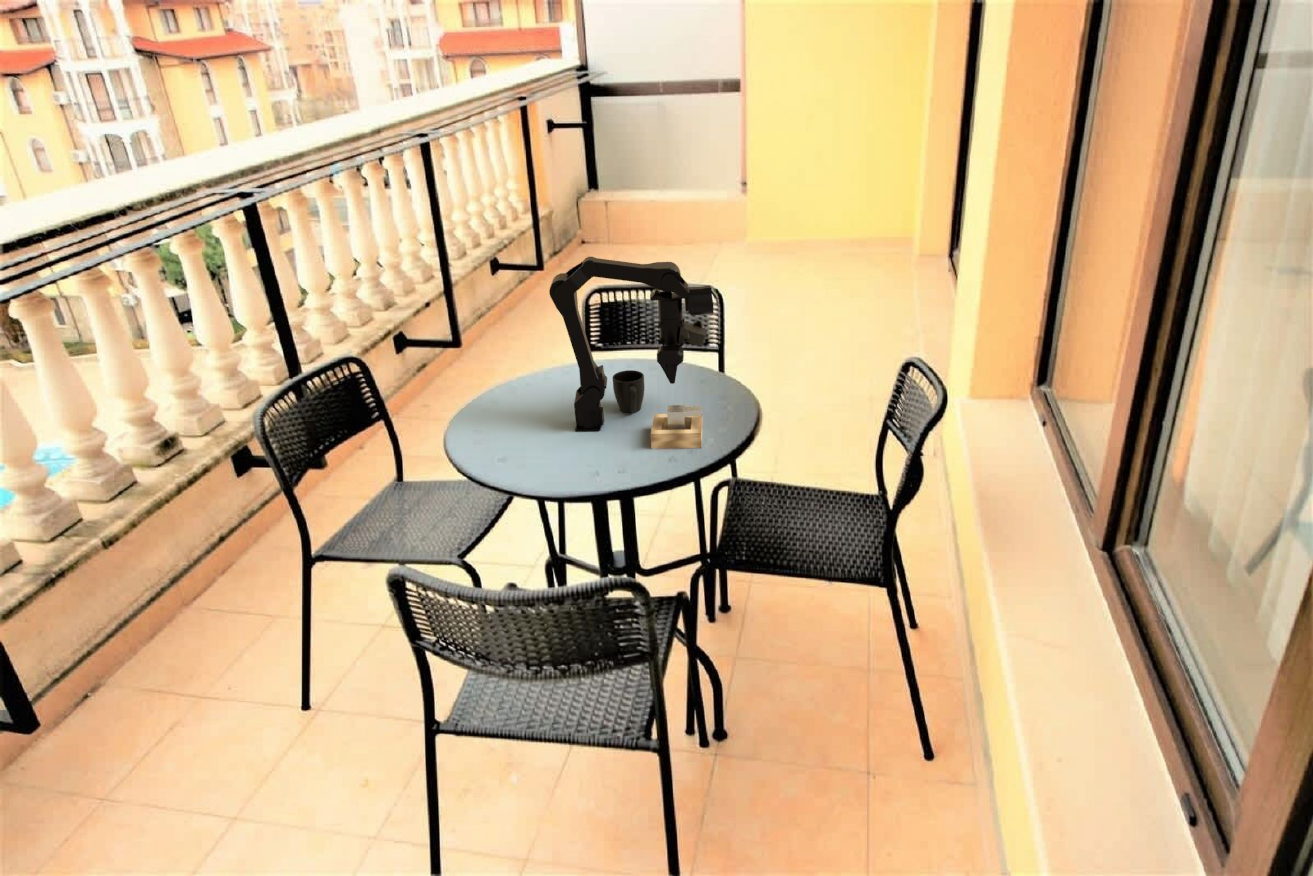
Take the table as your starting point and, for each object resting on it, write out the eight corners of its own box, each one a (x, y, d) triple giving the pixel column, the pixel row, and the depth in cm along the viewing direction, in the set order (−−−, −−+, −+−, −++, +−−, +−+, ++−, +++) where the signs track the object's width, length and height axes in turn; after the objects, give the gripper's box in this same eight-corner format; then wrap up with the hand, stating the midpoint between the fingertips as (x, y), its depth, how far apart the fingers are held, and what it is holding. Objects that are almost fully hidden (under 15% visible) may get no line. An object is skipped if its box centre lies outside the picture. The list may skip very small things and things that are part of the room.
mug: (618, 423, 215) (615, 389, 211) (613, 404, 226) (610, 371, 222) (650, 419, 216) (648, 385, 212) (643, 401, 227) (641, 368, 223)
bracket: (668, 442, 205) (667, 412, 201) (669, 434, 208) (668, 405, 205) (701, 441, 204) (700, 411, 200) (702, 434, 208) (701, 404, 204)
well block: (651, 448, 202) (650, 433, 200) (654, 428, 212) (654, 414, 210) (701, 448, 201) (700, 433, 199) (702, 427, 211) (702, 413, 209)
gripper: (703, 328, 193) (705, 390, 200) (705, 303, 210) (706, 361, 217) (655, 329, 194) (658, 391, 201) (660, 304, 211) (663, 362, 218)
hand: (673, 376), depth 209 cm, fingers open, 9 cm apart
